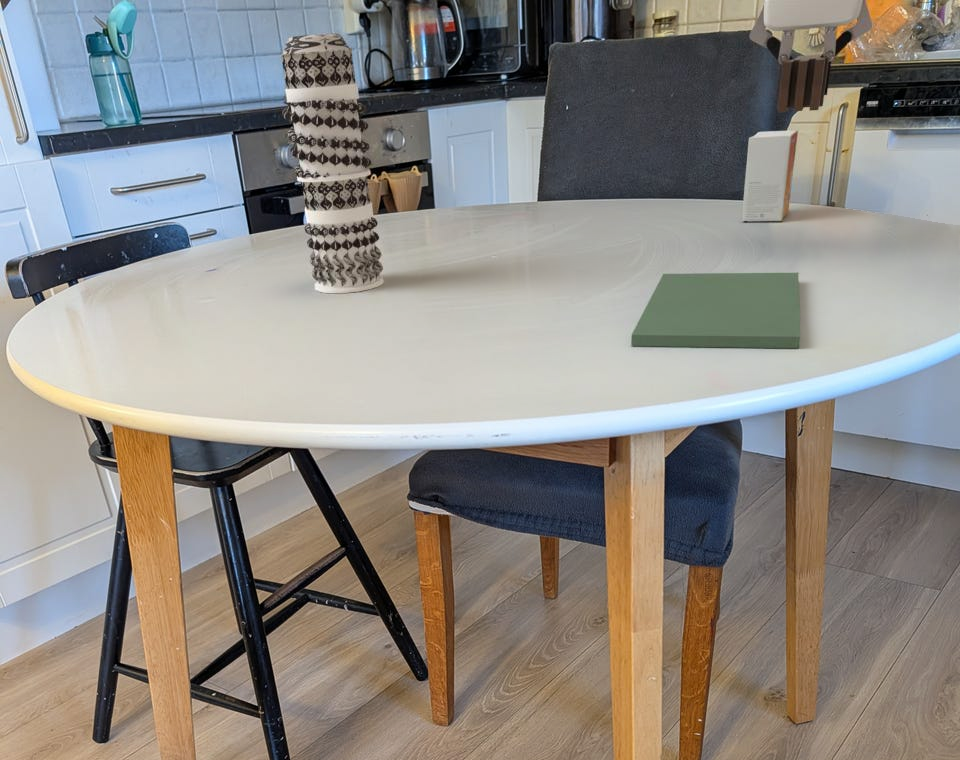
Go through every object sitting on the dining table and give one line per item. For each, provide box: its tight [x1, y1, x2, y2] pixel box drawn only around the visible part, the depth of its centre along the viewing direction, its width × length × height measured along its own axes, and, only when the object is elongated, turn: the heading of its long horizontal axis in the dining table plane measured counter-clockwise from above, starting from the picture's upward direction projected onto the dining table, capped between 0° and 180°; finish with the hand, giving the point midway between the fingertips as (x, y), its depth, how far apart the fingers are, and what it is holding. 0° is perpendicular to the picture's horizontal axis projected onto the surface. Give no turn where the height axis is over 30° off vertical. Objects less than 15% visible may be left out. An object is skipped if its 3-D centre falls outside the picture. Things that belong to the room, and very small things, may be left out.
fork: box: [776, 53, 829, 113], centre depth 99 cm, size 21×5×4 cm, turn 161°
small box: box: [741, 129, 799, 222], centre depth 122 cm, size 8×6×10 cm
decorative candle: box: [279, 33, 385, 294], centre depth 99 cm, size 9×9×25 cm
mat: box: [630, 272, 801, 349], centre depth 84 cm, size 24×14×1 cm, turn 164°
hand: (801, 102), depth 100 cm, fingers closed on fork, 2 cm apart
